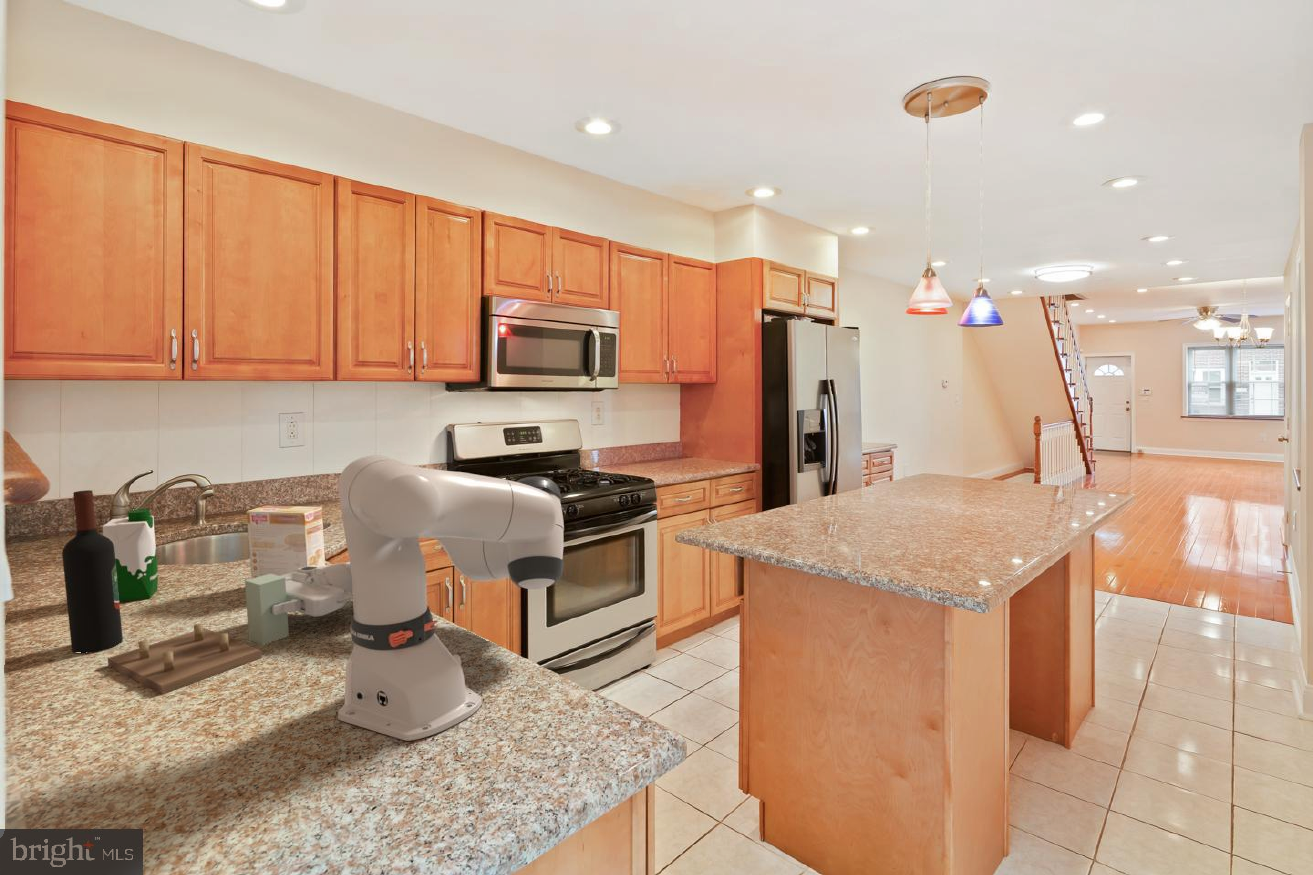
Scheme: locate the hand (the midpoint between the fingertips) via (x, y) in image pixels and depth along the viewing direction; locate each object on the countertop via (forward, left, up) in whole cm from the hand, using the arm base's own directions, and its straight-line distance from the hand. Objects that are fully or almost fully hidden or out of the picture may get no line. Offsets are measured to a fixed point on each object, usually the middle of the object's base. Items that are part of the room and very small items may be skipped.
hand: (262, 607), depth 132 cm
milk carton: (+50, +6, -7) cm, 51 cm away
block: (0, -1, -7) cm, 7 cm away
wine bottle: (+23, +20, -7) cm, 31 cm away
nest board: (+1, +13, -7) cm, 15 cm away
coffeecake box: (+27, -18, -7) cm, 33 cm away
